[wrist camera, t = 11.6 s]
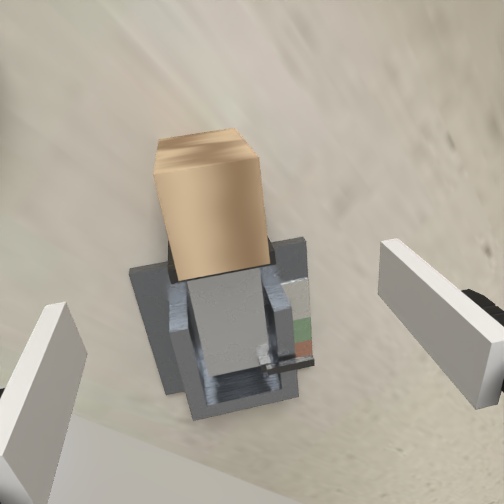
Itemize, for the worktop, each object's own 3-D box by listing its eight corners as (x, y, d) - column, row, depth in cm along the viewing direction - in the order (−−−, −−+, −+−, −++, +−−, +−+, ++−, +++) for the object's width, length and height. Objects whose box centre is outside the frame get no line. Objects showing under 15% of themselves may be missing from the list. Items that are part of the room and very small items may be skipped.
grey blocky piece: (196, 357, 39) (199, 397, 34) (168, 240, 33) (167, 270, 28) (300, 335, 40) (316, 371, 36) (292, 218, 34) (311, 243, 29)
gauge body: (166, 387, 42) (165, 427, 37) (129, 268, 35) (123, 299, 30) (309, 356, 44) (324, 390, 39) (302, 236, 36) (320, 262, 32)
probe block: (177, 221, 34) (178, 281, 25) (158, 139, 30) (153, 174, 22) (245, 209, 34) (270, 263, 26) (234, 127, 31) (259, 157, 22)
